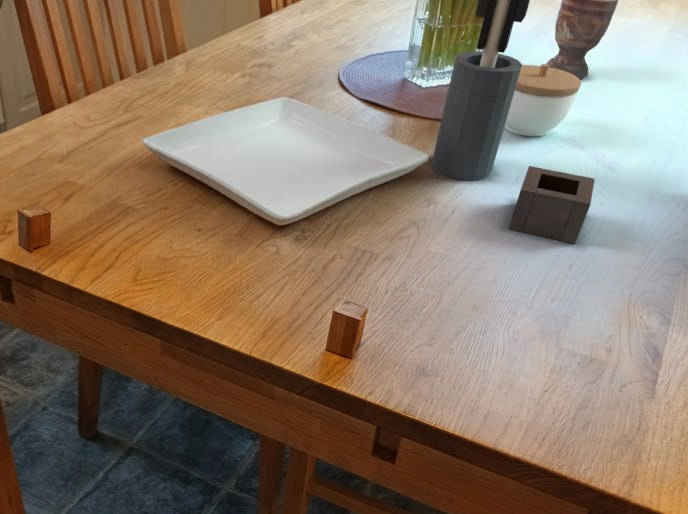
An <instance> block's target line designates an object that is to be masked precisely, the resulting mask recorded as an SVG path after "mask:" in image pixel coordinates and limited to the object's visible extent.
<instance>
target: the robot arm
mask: <svg viewBox="0 0 688 514" xmlns="http://www.w3.org/2000/svg"><path fill="white" fill-rule="evenodd" d="M530 1H531V0H511V2H510V6H509V10H508V13H507V17H506V21H505V25H504V29H503V32H502V36H501V40H500V44H499V48H498V51H497V52H498V53H501V54H503V53H505V52H506V50H507V48H508V45H509V42H510V39H511V34H512V31H513V28H514V24H515V23H522V22H523V21H524V19H525V17H526V16H527V12H528V9H529V5H530ZM495 3H496V0H478V2H477V6H476V9H475V15H476V17H477V18H483V21H482V25H481V27H480V28H481V29H480V32H479V37H478V41H477V44H476V48H475V49H476V50H481V51H483V50H484V46H485V43H486V39H487V35H488V31H489V27H490V23H491V19H492V15H493V11H494V7H495Z"/></svg>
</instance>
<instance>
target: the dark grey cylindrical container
mask: <svg viewBox="0 0 688 514" xmlns="http://www.w3.org/2000/svg"><path fill="white" fill-rule="evenodd" d="M482 54H483V51H467V52H463V53H459V54H457V56H456V57H455V59H454V64H453V67H452V72H451V77H450V81H449V85H448V89H447V93H446V98H445V103H444V106H443V111H442V117H441V120H440V125H439V129H438V133H437V138H436V143H435V146H434V151H433V155H432V162H431V167H432V168H433V169H434V171H435V172H437V173H438V174H439V175H443V176H445V177H447V178H450V179H455V180H461V181H480V180H484V179H486V178H489V176H490V175H491V174H492V171H493V168H494V165H495V161H496V159H497V154H498V150H499V147H500V144H501V140H502V137H503V134H504V130H505V123H506V120H507V116H508V113H509V109H510V106H511V102H512V99H513V95H514V92H515V88H516V85H517V81H518V78H519V74H520V71H521V67H522V66H523V64H522V63H521V61H520V60H518V59H516V58H515V57H512V56H510V55H506V54H503V53H498V56H497V60H496V64H495V68H487V67H481V66H480V62H481V58H482Z"/></svg>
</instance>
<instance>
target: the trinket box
mask: <svg viewBox="0 0 688 514" xmlns="http://www.w3.org/2000/svg"><path fill="white" fill-rule="evenodd" d="M581 85H582V81H581V79H579V78H578V77H576V76H575V75H573V74H571V73H568V72H566V71H563V70H559V69H555V68H550V67H549V65H548V64H546V63H542V64H541V65H532V64H531V65H530V64H527V65H526V64H525V65H523V64H522V67H521V71H520V74H519V78H518V81H517V85H516V88H515V92H514V95H513V99H512V102H511V106H510V109H509V113H508V116H507V120H506V123H505V127H504V129H505V130H506V131H509V132H511V133H513V134H515V135H519V136H522V137H523V136H524V137H534V138H535V137H536V138H537V137H541V136H545V135H547V133H548V132H550V131H551V130H553V129H555V128H556V127H558V126H559V125H560V124H561V123H562V122H563V121H564V120H565V119H566V117H567V115H568V114H569V112H570V110H571V109H572V106H573V105H574V102H575V100H576V98H577V94H578V92H579V90H580V88H581Z"/></svg>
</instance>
